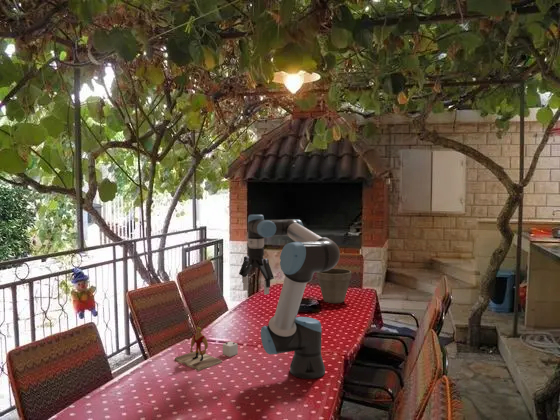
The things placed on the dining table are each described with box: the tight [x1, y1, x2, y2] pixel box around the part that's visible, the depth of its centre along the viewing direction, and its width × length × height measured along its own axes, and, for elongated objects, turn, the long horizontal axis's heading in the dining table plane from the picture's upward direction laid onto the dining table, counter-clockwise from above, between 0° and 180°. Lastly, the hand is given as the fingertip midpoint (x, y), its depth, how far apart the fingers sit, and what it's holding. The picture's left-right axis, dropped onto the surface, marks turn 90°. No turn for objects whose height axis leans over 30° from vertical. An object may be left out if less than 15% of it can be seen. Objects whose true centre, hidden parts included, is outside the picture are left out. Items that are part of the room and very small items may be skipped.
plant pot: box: [316, 267, 352, 304], centre depth 316 cm, size 25×25×22 cm
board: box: [174, 350, 223, 372], centre depth 203 cm, size 18×13×1 cm
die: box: [222, 341, 239, 358], centre depth 212 cm, size 5×5×6 cm
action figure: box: [189, 326, 209, 361], centre depth 203 cm, size 10×4×15 cm, turn 61°
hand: (255, 292), depth 210 cm, fingers open, 13 cm apart
